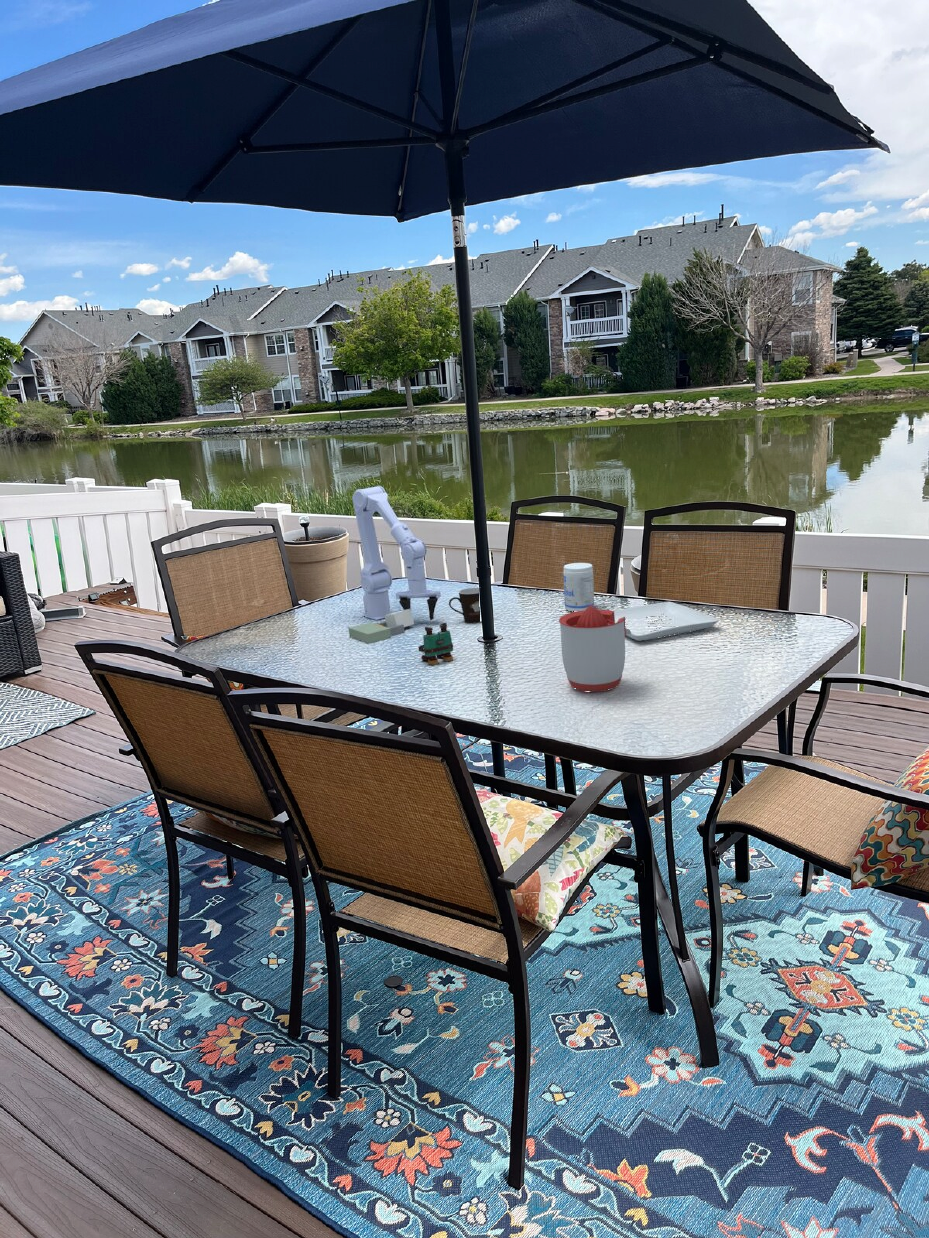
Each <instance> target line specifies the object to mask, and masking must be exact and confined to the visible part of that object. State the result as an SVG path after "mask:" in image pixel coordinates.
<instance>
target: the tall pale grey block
mask: <svg viewBox="0 0 929 1238" xmlns="http://www.w3.org/2000/svg"><path fill="white" fill-rule="evenodd" d="M384 619H385V621H386V624H387V628H390V627H394V626H397V625H401V624H403V625H404V628H406V627H410V626H412V625H414V624H415V622H414V618H413V614H412V609H407V610H404V609H403V610H399V611H395V612H391V614H388V615H385V618H384Z"/></svg>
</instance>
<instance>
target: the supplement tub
mask: <svg viewBox="0 0 929 1238" xmlns="http://www.w3.org/2000/svg"><path fill="white" fill-rule="evenodd" d="M562 574H563V595H564V609H565V610H566V611H567V610H568V612H570V611H584V610H586V609H587V608H588V607H589V606H594V607H595V593H594V587H595V586H594V585H595V584H594V569H593V564H591V563H588V562H573V563H568V564H565V565H563V573H562Z"/></svg>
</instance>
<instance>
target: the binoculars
mask: <svg viewBox="0 0 929 1238" xmlns="http://www.w3.org/2000/svg"><path fill="white" fill-rule="evenodd" d="M447 624H448V623H447V622H443V623H441V624H439V628H440V631H438V632H437V633H436V632H435V633H434V632H433V630H434V629H433V627H431V626H430V627H428V626H425V627H424V631H425V634H423V639H422V640H423V644H422V645H420V646H418V652H421V653H422V654H423V655H421V660H422V661H427V663H428V664H429V665H431V666H432V665H433V666H434V665H437V664H439V660H438V658H442V660H443V661H445V662H451V661H453V660H454V659H453V658H454V657H453V655H452V653H451V652H453V651H454V643H453V641H452V634H451V632H450V630H448V625H447Z"/></svg>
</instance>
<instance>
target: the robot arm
mask: <svg viewBox="0 0 929 1238" xmlns="http://www.w3.org/2000/svg"><path fill="white" fill-rule="evenodd" d="M351 500H352V505H353V508H354V509H353V510H354V513H355V519H356V524H357V526H358V527H357V528H358V535H359V538H360V542H361V548H362V552H363V558H364V563H365V565H364V566H363V567H362V569H361V570H360V585H361V588H362V590H363V591H364V594H363V597H362V599H363V600H362V601H363V609H364V613H363V614H362V617H364V616H365V617H364V618H367V619H372V620H374V621H379V620H383V619H385V615H388V614H391V613H392V610H391V603H390V594H389V593H390V592H389V590H391V588H390V587H391V586H392V583H393V576H392V574H391V572H390V570H389V565H387V564H385V562H383V561H382V558H381V552H380V547H379V542H378V538H377V532H376V527H375V522H374V518H373V516H374V514H375V513H378V515H379V516H380V517H382V519H383V520H384V521H385V522H386V523H387V525H388V526H389V527H390V528H391V529H390V535H391V536H392V538H394V540H395V542H396V543H397V545H398V546H399V548H400V549H401V551H400V555H401V557H402V559H403V562H404V565H405V567H406V574H407V575H406V576H407V585H408V590H406V591H405V590H404V591H397V592H396V593H395V598H396V600H399V601H398V602H399V604H400V606H401V608H402V609H403V610H407V609H411V603H412V602H411V599H426V598H427V600H426V603H427V606H428V614H429V615H428V616H429V621H433V620H434V618H435V617H434V616H435V615H434V614H435V610H436V605H437V603H438V600H439V599H440V598H441V595H442V594H441V590H429V589H427V582H426V569H425V561H424V558H425V557H426V555H427V552H428V550H427V546H426V544H425V542H424V541H423V540H420V539H419V538H417V537H415V535H414V534H413V532H412V531H411V529H410V528H409V526H408V524H406V523H405V522H401V521H400V520H399V518H398V516H397V515H396V513H395V512H394V510H393V508H392V506H391V505H390V503H389V494H388V493H387V492H386V490H385V488H384V487H382V485H376V486H374V487H373V486H372V487H366V488H363V489H361V488H358V489H355V491H354V493H353V495H352V499H351ZM411 610H412V609H411Z"/></svg>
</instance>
